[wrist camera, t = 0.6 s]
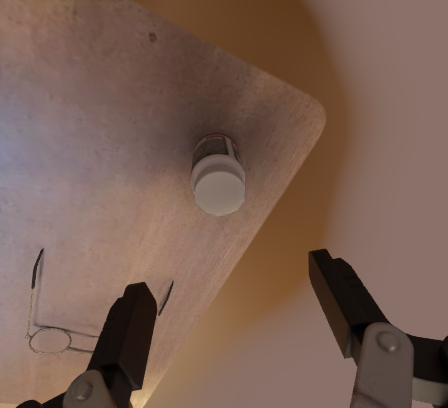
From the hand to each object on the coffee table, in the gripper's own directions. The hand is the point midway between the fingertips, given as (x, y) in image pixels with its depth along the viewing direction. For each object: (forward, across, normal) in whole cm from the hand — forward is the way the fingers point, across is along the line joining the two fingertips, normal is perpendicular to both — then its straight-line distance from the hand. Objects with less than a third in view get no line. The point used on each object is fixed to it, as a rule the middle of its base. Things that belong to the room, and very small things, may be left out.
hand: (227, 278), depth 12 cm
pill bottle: (+16, 0, 0) cm, 17 cm away
